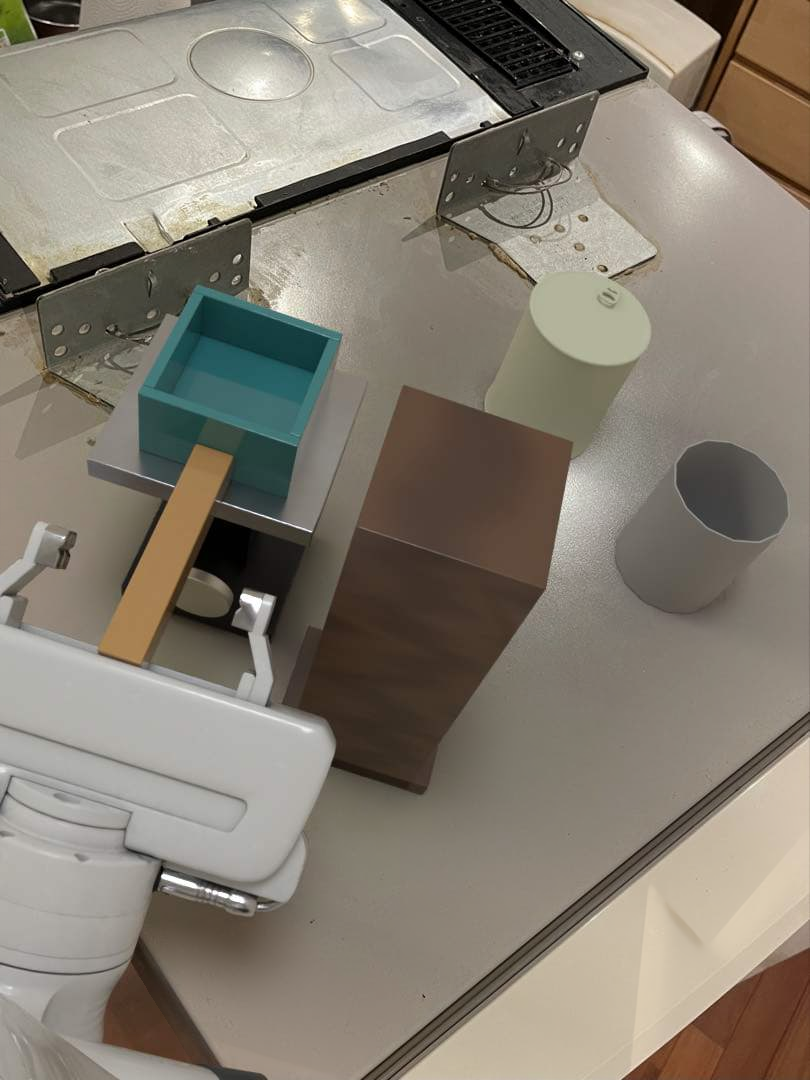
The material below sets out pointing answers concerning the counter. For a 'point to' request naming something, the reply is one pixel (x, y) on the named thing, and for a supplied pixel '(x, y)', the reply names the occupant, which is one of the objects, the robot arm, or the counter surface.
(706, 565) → the cup
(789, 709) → the counter surface
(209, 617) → the scale
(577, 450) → the can
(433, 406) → the plinth
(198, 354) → the teal handled box
